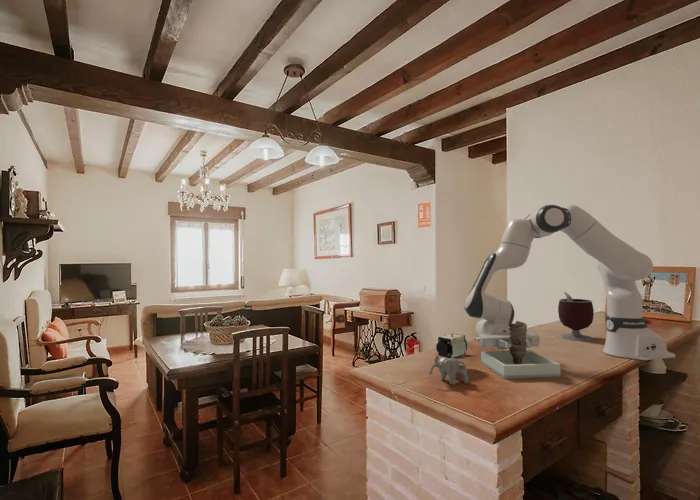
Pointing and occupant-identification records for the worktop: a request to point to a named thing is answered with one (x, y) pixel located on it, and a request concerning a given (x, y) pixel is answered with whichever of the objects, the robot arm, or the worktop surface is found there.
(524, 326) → the light bulb
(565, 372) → the worktop surface
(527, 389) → the worktop surface
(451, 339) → the pneumatic valve
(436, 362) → the gray elephant figurine
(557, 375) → the tray
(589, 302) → the mate gourd
